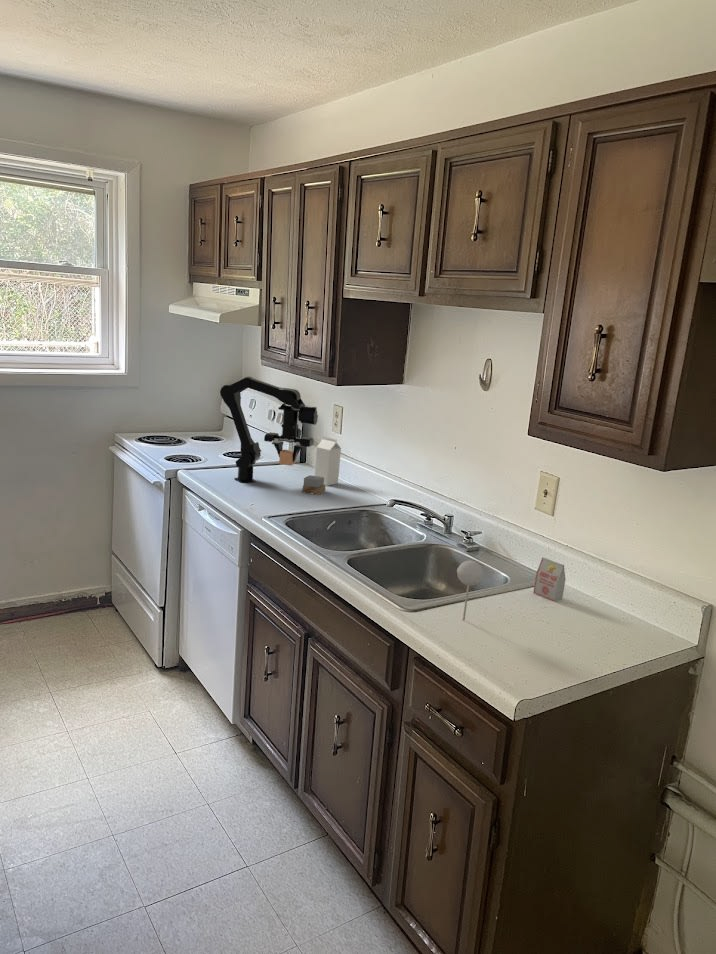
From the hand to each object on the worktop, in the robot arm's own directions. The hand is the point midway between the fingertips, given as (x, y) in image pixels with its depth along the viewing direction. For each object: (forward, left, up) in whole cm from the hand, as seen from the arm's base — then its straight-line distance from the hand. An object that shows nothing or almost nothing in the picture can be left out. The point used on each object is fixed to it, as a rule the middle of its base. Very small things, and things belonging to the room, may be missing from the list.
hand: (287, 460), depth 283 cm
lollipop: (+125, -30, -10) cm, 129 cm away
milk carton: (+1, +19, -10) cm, 22 cm away
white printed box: (+125, +3, -10) cm, 125 cm away
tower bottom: (+11, +6, -11) cm, 16 cm away
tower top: (+11, +6, -8) cm, 14 cm away
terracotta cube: (0, 0, -1) cm, 1 cm away
